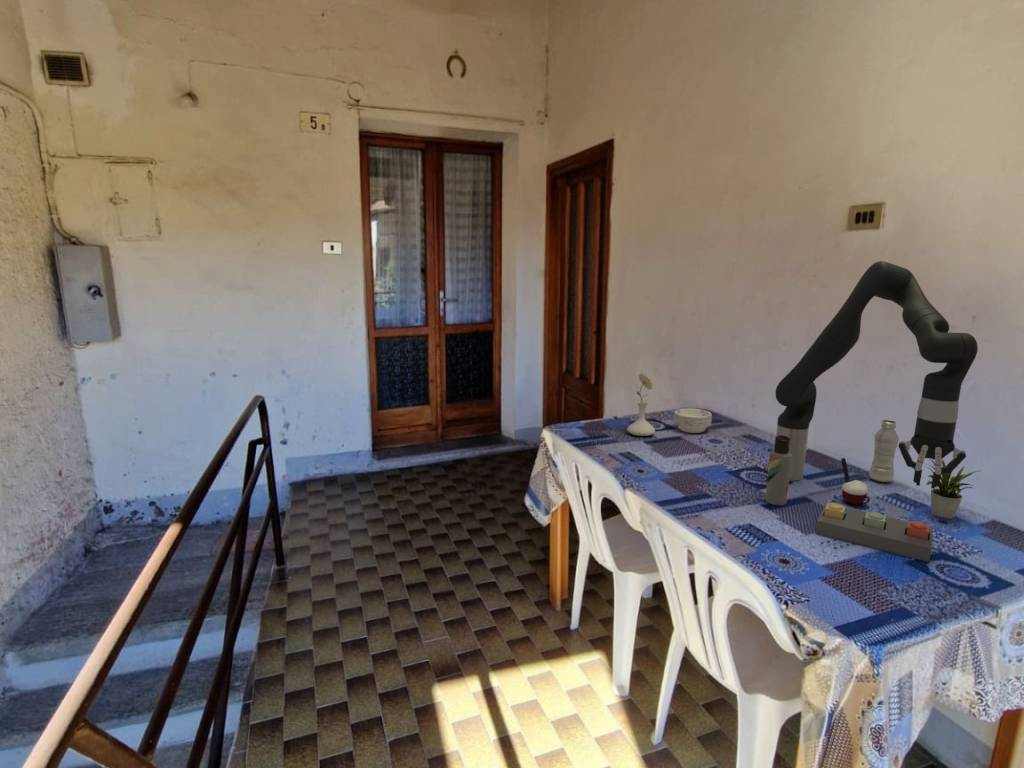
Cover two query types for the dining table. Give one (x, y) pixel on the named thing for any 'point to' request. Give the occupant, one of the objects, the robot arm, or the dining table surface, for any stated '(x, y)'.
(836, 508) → the ochre button
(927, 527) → the red button
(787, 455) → the lotion bottle
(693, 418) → the paper bowls
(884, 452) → the plastic bottle
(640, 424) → the flower in vase
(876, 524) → the sage button
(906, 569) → the dining table surface
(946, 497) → the house plant
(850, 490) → the cocoa
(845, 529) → the panel
